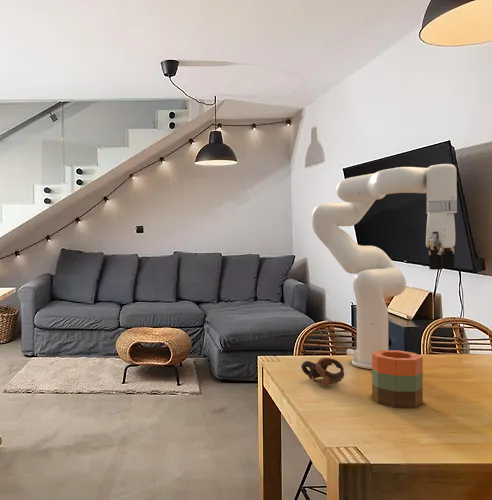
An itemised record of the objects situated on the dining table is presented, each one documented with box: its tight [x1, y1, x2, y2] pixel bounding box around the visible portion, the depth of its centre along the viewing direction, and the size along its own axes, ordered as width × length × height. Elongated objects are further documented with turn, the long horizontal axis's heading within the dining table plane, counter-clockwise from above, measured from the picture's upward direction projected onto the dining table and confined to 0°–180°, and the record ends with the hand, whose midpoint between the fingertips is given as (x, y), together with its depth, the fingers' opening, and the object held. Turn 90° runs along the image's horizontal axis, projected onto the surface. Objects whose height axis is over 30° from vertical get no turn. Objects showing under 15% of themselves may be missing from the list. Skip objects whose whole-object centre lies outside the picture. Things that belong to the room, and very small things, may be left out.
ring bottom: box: [371, 382, 424, 409], centre depth 138 cm, size 11×11×4 cm
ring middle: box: [371, 368, 424, 392], centre depth 138 cm, size 11×11×4 cm
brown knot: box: [300, 357, 345, 388], centre depth 156 cm, size 12×10×8 cm
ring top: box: [372, 349, 424, 376], centre depth 138 cm, size 11×11×4 cm
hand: (442, 268), depth 152 cm, fingers open, 9 cm apart
